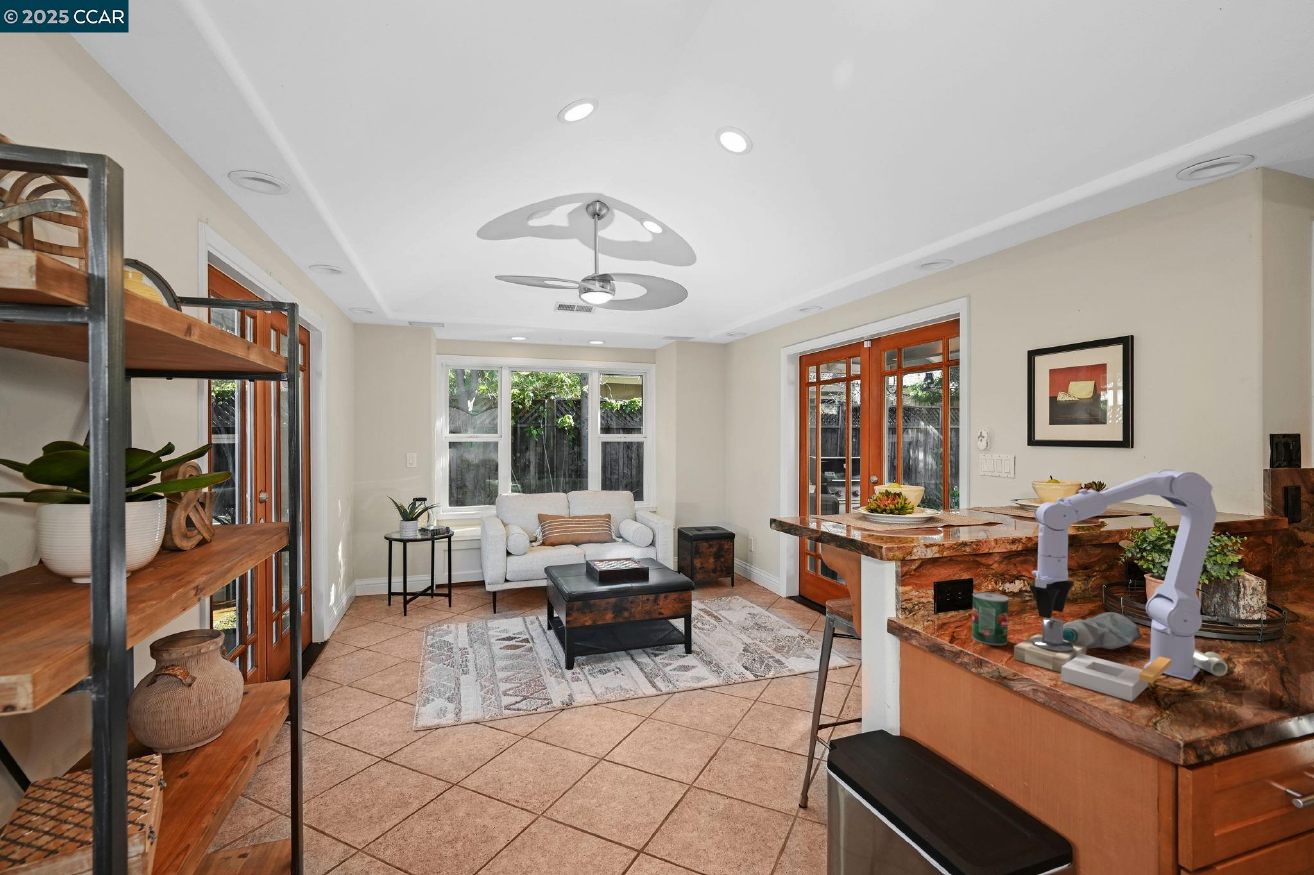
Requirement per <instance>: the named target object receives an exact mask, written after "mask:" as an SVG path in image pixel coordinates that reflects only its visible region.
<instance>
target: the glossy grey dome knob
mask: <svg viewBox="0 0 1314 875" xmlns="http://www.w3.org/2000/svg"><path fill="white" fill-rule="evenodd" d="M1063 625H1064V621H1063V620H1062V619H1059V618H1055V617H1054V618H1053V617H1051V618H1045V617H1042V625H1041V626H1042V629H1041V635H1042V637H1035V638H1032V644H1034V645H1035V646H1037V647H1040V648H1043V649H1046V650H1051V651H1056V652H1071V651H1073V645H1072V644H1070V643H1068V642H1065V641H1063V640H1064V639H1063Z"/></svg>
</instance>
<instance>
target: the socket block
mask: <svg viewBox="0 0 1314 875" xmlns="http://www.w3.org/2000/svg"><path fill="white" fill-rule="evenodd" d="M1143 670H1144V669H1141V668H1139V667H1134V666H1130V665H1127V664H1123V663H1118V662H1114V661H1111V660H1106V659H1102V658H1098V657H1095V656H1091V655H1087V654H1086V655H1084V654H1080V655H1078V656H1077V657H1075V658H1074V659H1072V660H1071V661H1069V662H1068V663H1066V664H1065V665H1063V666H1062V667H1061V672H1060V674H1061V675H1060V676H1061V677H1060V681H1061V682H1064V683H1067V684H1069V685H1075V686H1078V687H1080V688H1084V689H1088V690H1090V691H1091V690H1092V691H1095V692H1098V693H1102V694H1105V695H1109V696H1112V697H1115V698H1119V699H1122V700H1125V701H1129V702H1133V701H1134V700H1135V699H1136V698H1138V696H1139V695H1141V693H1142V692H1143V691H1145V689H1147V687H1148V686H1149V682H1145V681H1142V680H1139V674H1140V673H1141V672H1142V671H1143Z"/></svg>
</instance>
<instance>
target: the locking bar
mask: <svg viewBox="0 0 1314 875" xmlns="http://www.w3.org/2000/svg"><path fill="white" fill-rule="evenodd" d="M1170 666H1171V659H1168V658H1164V657H1160V656H1159V657H1158V658H1157V659H1156V660H1154V661H1153V662H1152V663H1151V664H1150V665H1149V666H1148V667H1147V668H1143V669H1142V670H1143V671H1142V672H1141V673H1140V674H1139V680H1142V681H1145V682H1148V684H1153V683H1154V682H1155V681H1156V680H1157V679H1159V677H1161V675H1163V674H1164V673H1163V672H1164V671H1165V670H1166V669H1167V668H1169V667H1170Z"/></svg>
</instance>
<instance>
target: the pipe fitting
mask: <svg viewBox="0 0 1314 875" xmlns="http://www.w3.org/2000/svg"><path fill="white" fill-rule="evenodd" d="M1194 667H1198V668H1200V670H1201V669H1202V670H1203V671H1206V672H1207V673H1209V674H1211V675H1213V676H1215V677H1222V676H1225V675H1227V673H1228V664H1227V663H1226V662H1225V661H1224V660H1223V658H1222V656H1221V655H1220V654H1218V653H1217V652H1214V651H1206V652H1205V653H1204V652H1202V651H1200V650H1198V649H1197V648H1195V658H1194Z"/></svg>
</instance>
